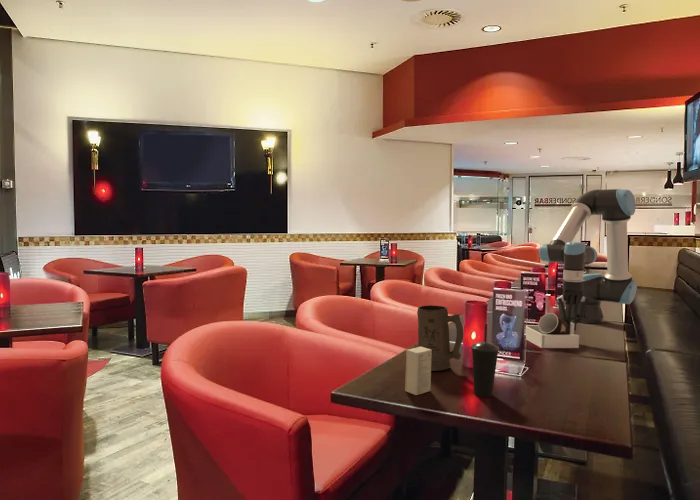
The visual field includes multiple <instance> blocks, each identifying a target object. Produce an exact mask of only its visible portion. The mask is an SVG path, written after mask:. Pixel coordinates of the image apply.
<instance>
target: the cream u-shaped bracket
mask: <svg viewBox="0 0 700 500" xmlns="http://www.w3.org/2000/svg"><path fill="white" fill-rule="evenodd" d="M525 325H526V339H525V340H526V341H528V342H529V343H532V344H534V345H535V346H537V347H538V348H540V349H579V347H580V335H579V334H574V335H547V334H545V333H543V332H541V331H540V330H539V327H538V324H536V325H535V324H525Z"/></svg>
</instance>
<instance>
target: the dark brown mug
mask: <svg viewBox="0 0 700 500" xmlns="http://www.w3.org/2000/svg"><path fill="white" fill-rule="evenodd" d="M537 325H538V327H539V330H540V331H541V332H543V333H545V334H547V335H570V329H569V328H568V327H567V326H566V323H565V322H564V321H562V320H561V318H560V317H559V316H557V314H555V313H553V312H548V313H546V314H544V315H542V316H541V317H540V319H539V321H538V324H537Z"/></svg>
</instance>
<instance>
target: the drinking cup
mask: <svg viewBox="0 0 700 500" xmlns="http://www.w3.org/2000/svg"><path fill="white" fill-rule="evenodd" d="M483 333H484V335H483V341H478V342H476V343H472V344H471V345H470V348H471V353H472V354H471V355H472V357H471V359H472V374H473V392H474V396H477V397H479V398H491V397H492V396H493V391H494V384H495V377H496V370H497V361H498V354H499V351H500V347H499V346H498V345H496V344H494V343H492V342H489V341H487V340H488V324H487V323H484V332H483Z"/></svg>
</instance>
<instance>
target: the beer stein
mask: <svg viewBox="0 0 700 500" xmlns="http://www.w3.org/2000/svg"><path fill="white" fill-rule="evenodd" d="M416 314H417V324H418V328H417V336H418V337H417V338H418V341H417V343H418V344H417V347H420V346H421V347H425V348H428V349H431V350H432V355H431V372H432V371H433V372H434V371H435V372H436V371H437V372H438V371H444V370H445V371H446V370H448V369H449V368H451V361H450V360H451V359H456V360H458V361H459V360H461V356H462V355H461V354H460V353H461V352H460V348H461V345H462V343H463V340H464V328H463V324H462V321H461V314H460V313H454V314H453V315H452V314H451V315H449V312H448V308H447V307H446V306H443V305H442V306H441V305H432V304H431V305H421V306H418V307H417V311H416ZM450 322H451V323H454V325H455V328H456V338H455V341H454V345H453V350H451V346H450V345H451V344H450V343H451V342H450V327H449V323H450Z"/></svg>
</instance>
